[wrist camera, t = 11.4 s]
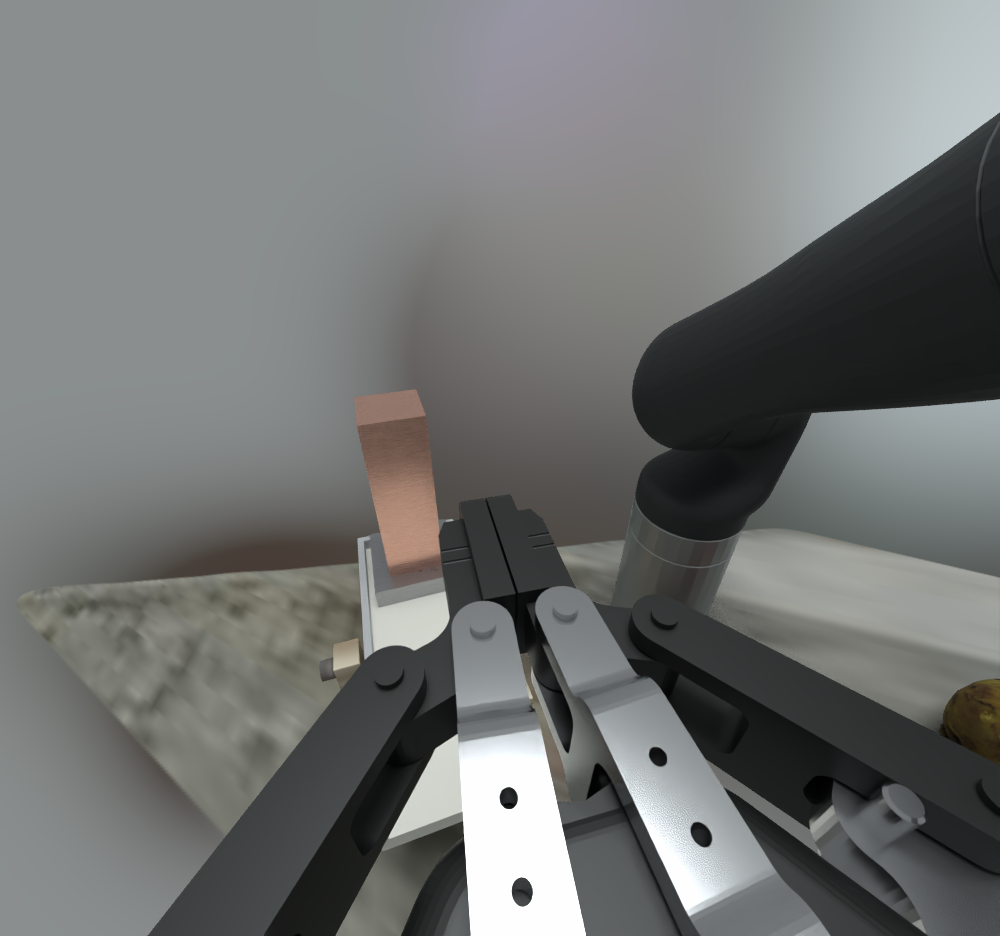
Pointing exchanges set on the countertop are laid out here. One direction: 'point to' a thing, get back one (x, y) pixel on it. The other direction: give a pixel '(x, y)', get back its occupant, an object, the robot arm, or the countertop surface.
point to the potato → (975, 719)
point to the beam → (441, 779)
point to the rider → (401, 496)
